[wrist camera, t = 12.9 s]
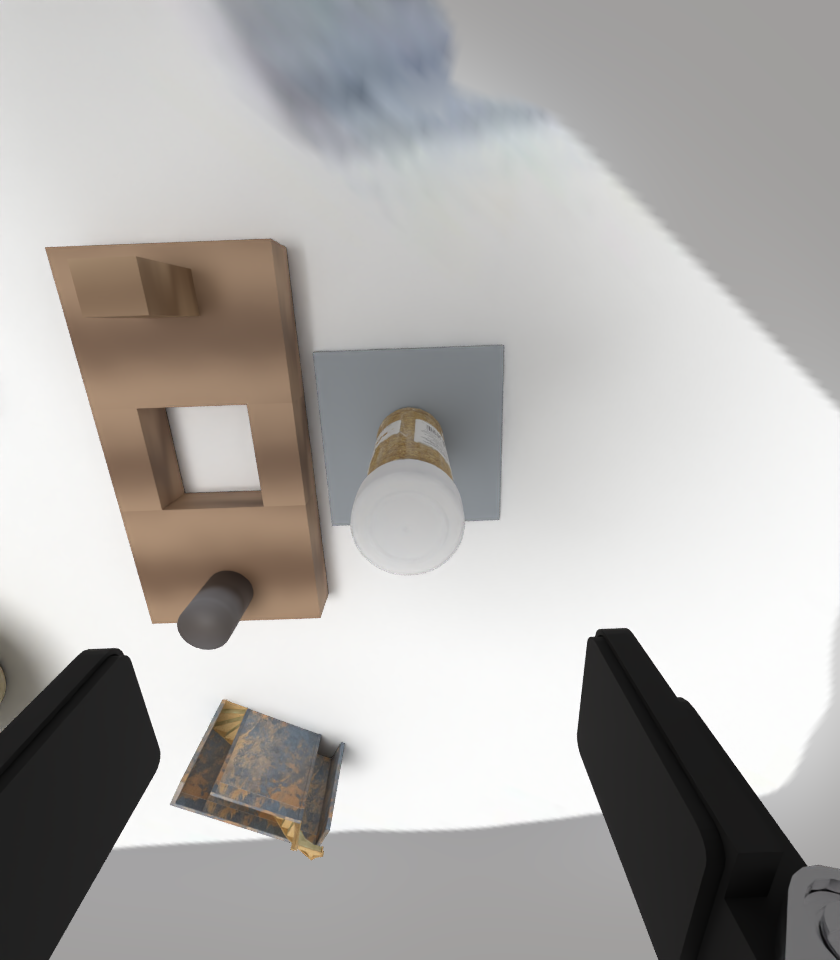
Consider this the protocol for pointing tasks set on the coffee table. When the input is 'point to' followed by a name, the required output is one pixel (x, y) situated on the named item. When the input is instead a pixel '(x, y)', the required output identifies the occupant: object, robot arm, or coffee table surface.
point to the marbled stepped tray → (263, 778)
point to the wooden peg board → (200, 382)
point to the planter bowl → (2, 684)
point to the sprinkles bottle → (408, 498)
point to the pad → (422, 385)
